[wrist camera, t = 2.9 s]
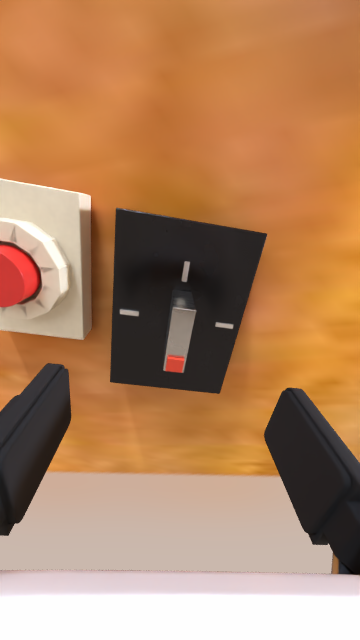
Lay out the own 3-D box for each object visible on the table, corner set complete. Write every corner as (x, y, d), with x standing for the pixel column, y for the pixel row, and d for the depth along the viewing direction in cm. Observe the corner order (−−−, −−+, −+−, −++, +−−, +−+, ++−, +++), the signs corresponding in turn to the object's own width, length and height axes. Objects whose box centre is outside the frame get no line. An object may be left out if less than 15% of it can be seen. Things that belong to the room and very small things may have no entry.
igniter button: (-23, 240, 14) (-48, 243, 12) (37, 249, 14) (20, 253, 13) (-11, 294, 15) (-33, 303, 14) (43, 301, 16) (28, 311, 14)
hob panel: (125, 209, 17) (115, 207, 14) (253, 231, 17) (268, 234, 15) (117, 362, 22) (109, 383, 19) (214, 373, 23) (220, 395, 20)
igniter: (-26, 175, 16) (-88, 161, 12) (91, 195, 16) (67, 189, 13) (1, 317, 20) (-37, 339, 16) (92, 328, 21) (74, 352, 17)
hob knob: (172, 289, 16) (172, 308, 13) (191, 292, 16) (196, 312, 13) (164, 343, 18) (162, 373, 15) (181, 345, 18) (183, 375, 15)
